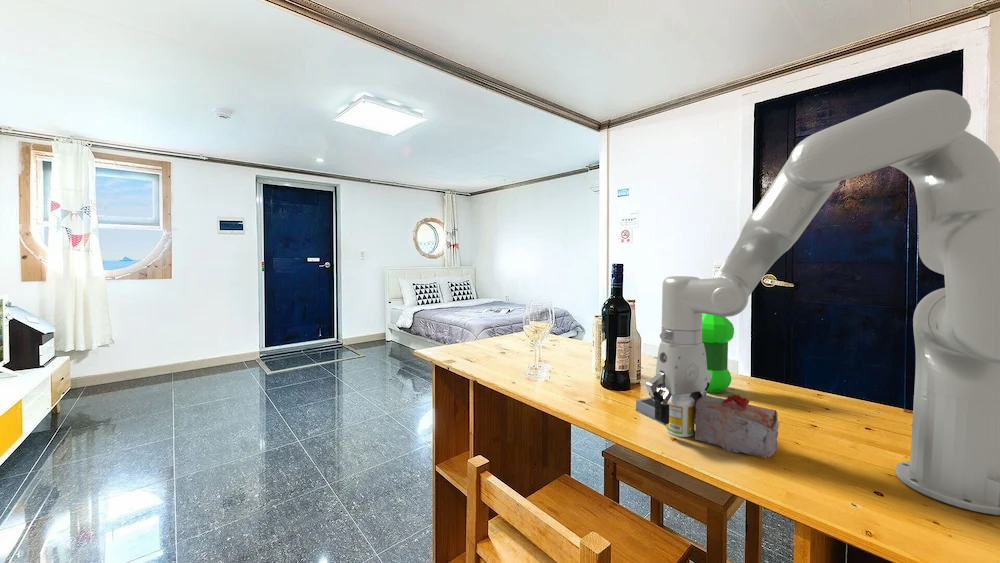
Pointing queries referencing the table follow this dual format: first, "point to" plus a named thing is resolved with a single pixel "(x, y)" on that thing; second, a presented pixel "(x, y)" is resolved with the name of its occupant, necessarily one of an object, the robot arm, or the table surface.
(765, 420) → the food item
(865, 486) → the table surface
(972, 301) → the robot arm
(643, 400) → the divided tray
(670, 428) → the supplement bottle
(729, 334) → the plastic bottle
